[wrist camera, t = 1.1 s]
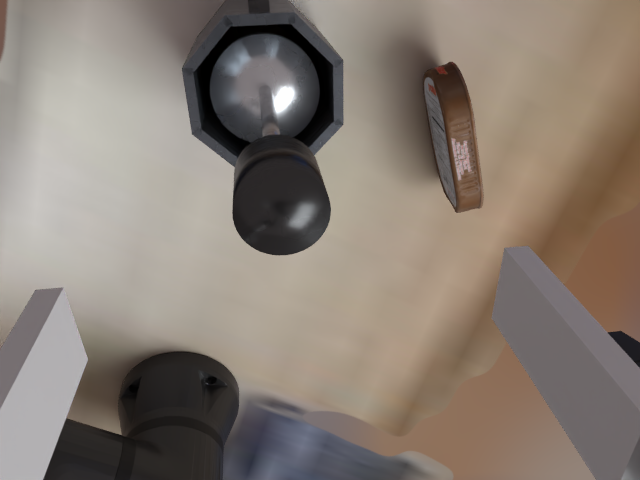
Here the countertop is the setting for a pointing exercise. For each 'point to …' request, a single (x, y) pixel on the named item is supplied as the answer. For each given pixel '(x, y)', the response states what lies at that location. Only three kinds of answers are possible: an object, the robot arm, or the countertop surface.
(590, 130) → the countertop surface
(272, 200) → the plunger
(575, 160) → the countertop surface
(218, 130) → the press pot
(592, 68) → the countertop surface
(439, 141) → the tin
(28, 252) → the countertop surface
